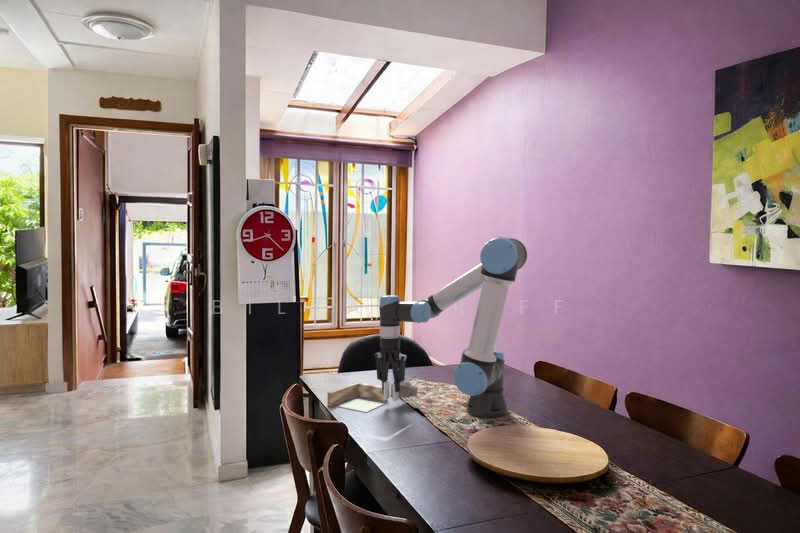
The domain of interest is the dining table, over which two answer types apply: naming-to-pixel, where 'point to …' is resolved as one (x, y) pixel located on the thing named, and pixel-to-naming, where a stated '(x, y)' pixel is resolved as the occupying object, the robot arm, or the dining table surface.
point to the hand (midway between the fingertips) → (391, 399)
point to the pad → (361, 405)
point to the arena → (355, 393)
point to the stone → (405, 390)
